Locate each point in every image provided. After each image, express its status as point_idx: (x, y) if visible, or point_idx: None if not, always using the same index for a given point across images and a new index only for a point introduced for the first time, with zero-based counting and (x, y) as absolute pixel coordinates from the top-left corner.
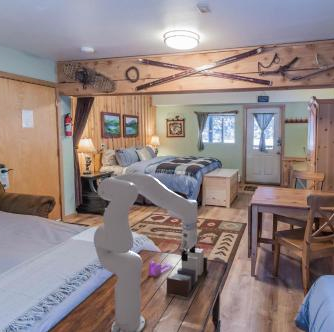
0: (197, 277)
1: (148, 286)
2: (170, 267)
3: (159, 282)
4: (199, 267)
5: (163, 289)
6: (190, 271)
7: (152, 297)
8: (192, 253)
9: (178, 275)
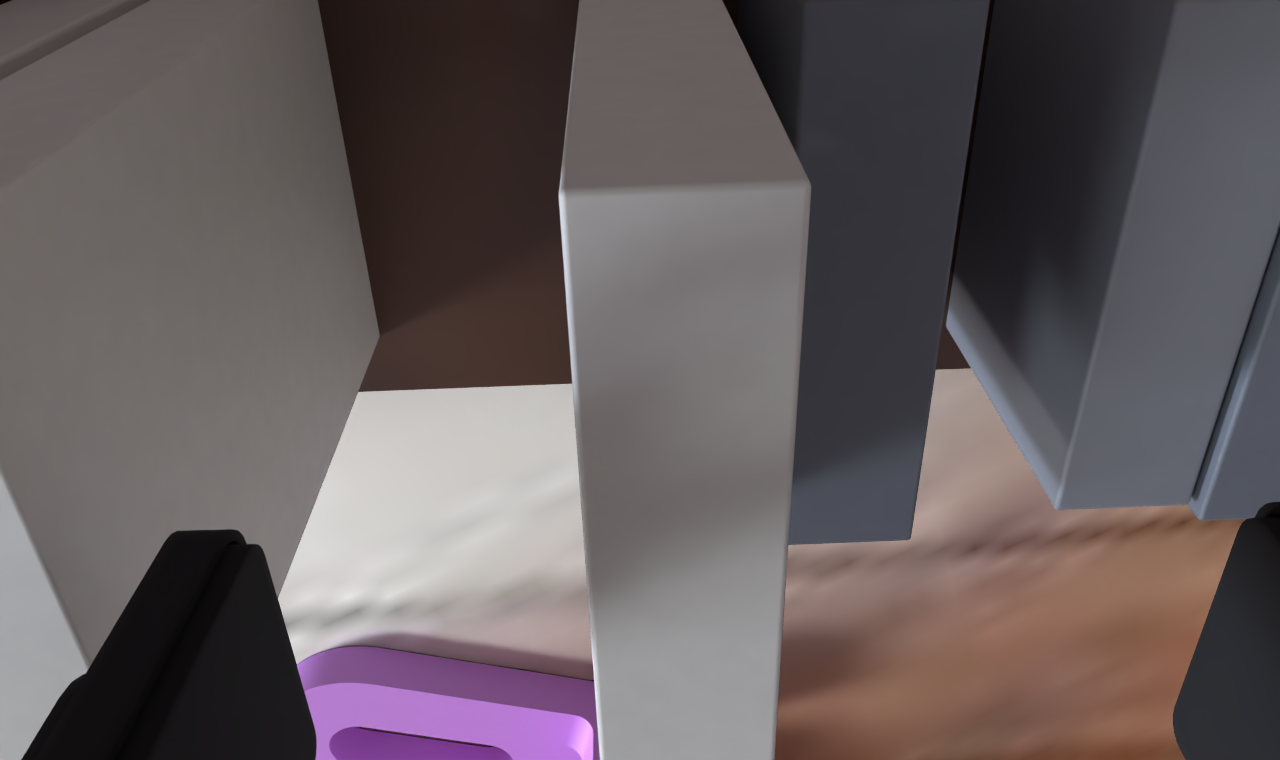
0: (440, 1)
1: (957, 683)
2: (352, 679)
3: (809, 610)
4: (245, 58)
5: (1001, 467)
6: (910, 161)
7: None
8: None
9: (1159, 398)
